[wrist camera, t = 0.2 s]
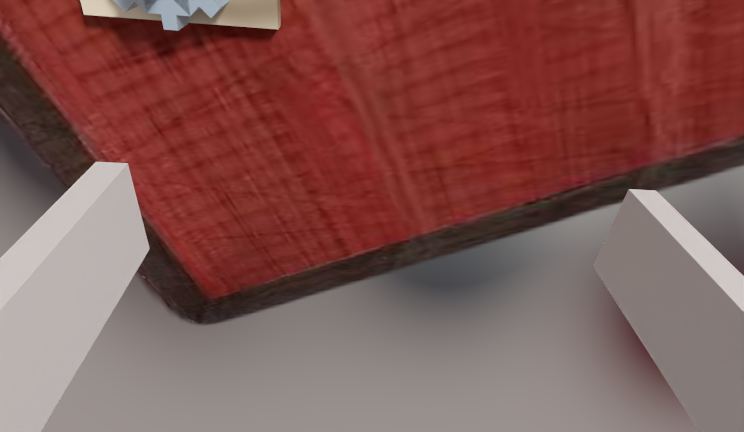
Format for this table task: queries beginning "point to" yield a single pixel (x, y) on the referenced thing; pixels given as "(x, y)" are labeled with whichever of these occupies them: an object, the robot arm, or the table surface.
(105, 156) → the table surface
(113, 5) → the gear board
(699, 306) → the robot arm
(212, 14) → the gear
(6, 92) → the table surface
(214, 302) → the table surface
